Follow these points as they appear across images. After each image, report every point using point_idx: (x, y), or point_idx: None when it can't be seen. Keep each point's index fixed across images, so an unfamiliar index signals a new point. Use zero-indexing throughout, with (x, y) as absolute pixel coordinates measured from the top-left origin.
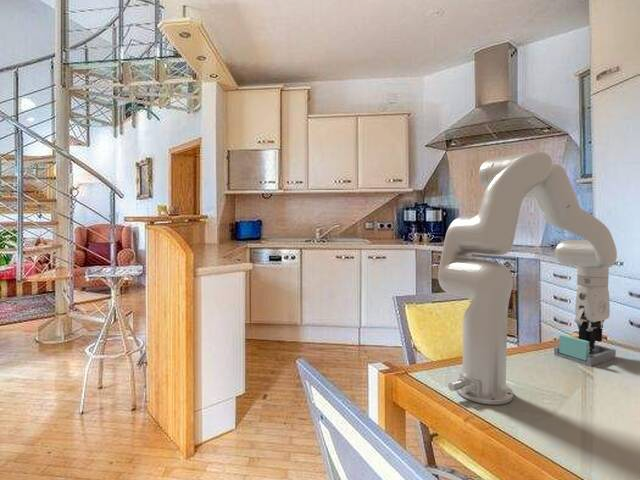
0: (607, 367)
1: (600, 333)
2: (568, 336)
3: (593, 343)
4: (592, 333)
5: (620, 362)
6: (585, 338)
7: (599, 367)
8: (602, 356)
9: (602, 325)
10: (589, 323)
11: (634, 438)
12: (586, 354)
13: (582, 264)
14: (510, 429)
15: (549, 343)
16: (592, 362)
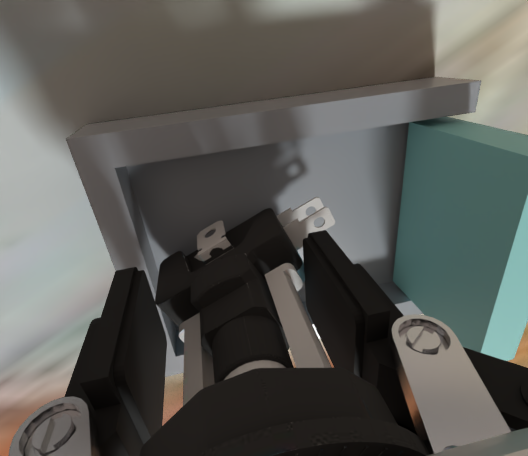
0: (360, 4)
1: (126, 328)
2: (500, 323)
3: (264, 242)
4: (252, 332)
5: (151, 28)
6: (368, 280)
7: (407, 33)
8: (302, 102)
9: (23, 450)
10: (488, 427)
11: None
12: (476, 124)
13: None
14: None
15: None
16: (426, 82)
